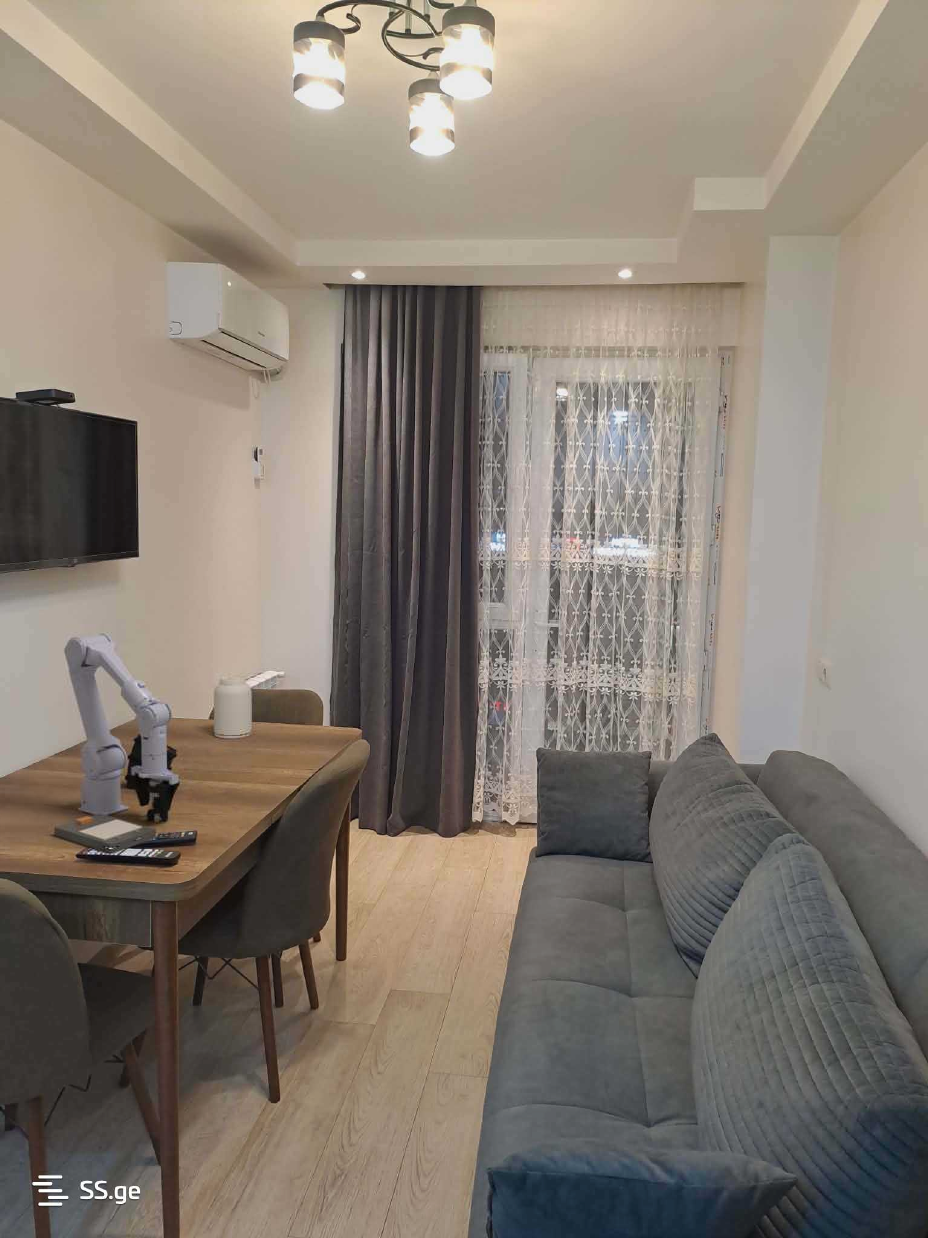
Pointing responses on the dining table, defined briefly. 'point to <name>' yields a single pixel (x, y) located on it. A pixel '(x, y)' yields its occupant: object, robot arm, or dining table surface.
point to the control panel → (105, 832)
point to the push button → (154, 804)
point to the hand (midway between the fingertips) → (155, 808)
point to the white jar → (232, 707)
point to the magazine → (136, 759)
